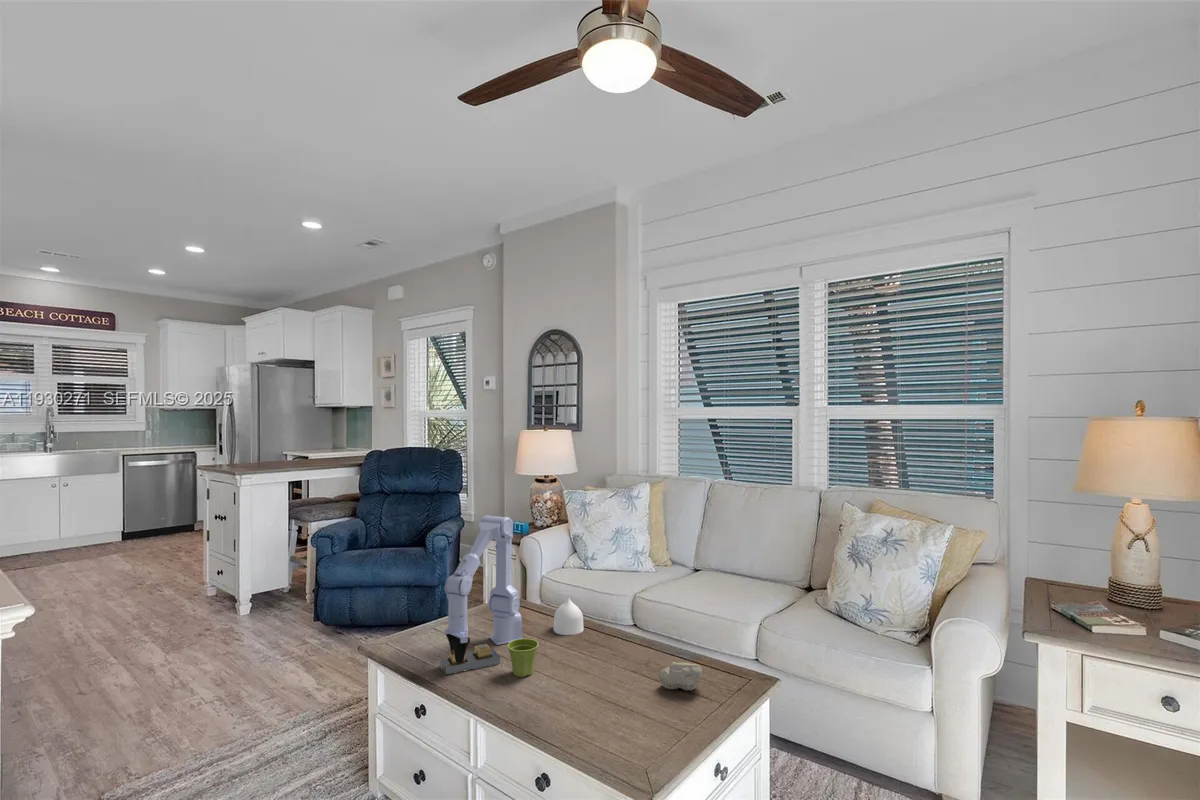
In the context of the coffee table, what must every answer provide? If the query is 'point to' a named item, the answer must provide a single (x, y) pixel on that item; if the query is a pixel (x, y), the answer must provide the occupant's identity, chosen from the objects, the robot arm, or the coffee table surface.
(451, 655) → the gold square block
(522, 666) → the plant pot
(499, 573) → the robot arm
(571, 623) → the teardrop
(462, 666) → the grey slotted tray
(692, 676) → the fossil replica
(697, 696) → the coffee table surface
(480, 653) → the tan square frame
